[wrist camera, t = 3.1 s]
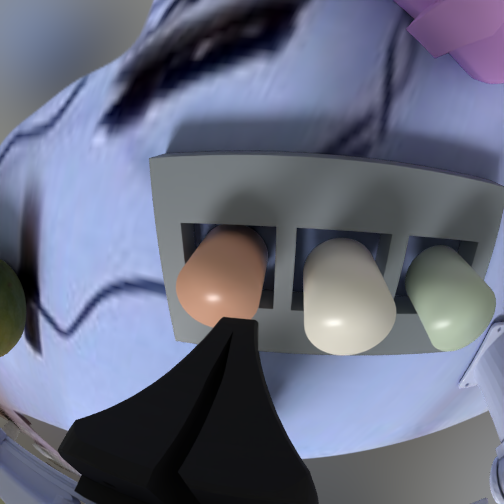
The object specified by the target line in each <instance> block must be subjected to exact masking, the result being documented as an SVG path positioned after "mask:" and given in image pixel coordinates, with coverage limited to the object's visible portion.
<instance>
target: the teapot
mask: <svg viewBox="0 0 504 504" xmlns="http://www.w3.org/2000/svg"><path fill="white" fill-rule="evenodd" d="M393 1H394V2H396V3H397V4H398V5H399V6H400V7H401V8H403V9H404V10H405V11H406V12H407V13H408V14H409V15H410V16H411V17H413V18H414V19H415V20H414V21H413V22H412V23H411V24H410V25H409V26H408V27H407V28H406V30H407V31H408V32H409V33H410V34H411V35H412V36H413V37H414V38H416V39H417V40H418V41H419V42H420V43H421V44H422V45H423V46H424V47H425V49H426V50H427V51H428V52H429V53H430V54H431V55H432V56H433V57H434V58H437V57H440V56H442V55H444V54H447V53H449V54H450V55H451V56H452V57H453V58H454V59H455V60H456V61H457V63H458V64H459V65H460V66H461V67H462V68H463V69H464V70H465V71H466V72H467V73H468V74H469V75H470V76H471V77H472V78H473V79H476V80H478V81H481V82H485V83H488V84H500V83H504V0H393Z"/></svg>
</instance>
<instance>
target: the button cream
mask: <svg viewBox="0 0 504 504" xmlns="http://www.w3.org/2000/svg"><path fill="white" fill-rule="evenodd" d="M303 289H304V328H305V332H306V335H307V337H308V339H309V340H310V342H311V343H312V344H313V345H314V346H316V347H317V348H318V349H320V350H322V351H324V352H326V353H330V354H334V355H353V354H358V353H361V352H364V351H367V350H369V349H371V348H373V347H374V346H376V345H377V344H379V343H380V342H381V341H382V340H383V339H384V338H385V337H386V336H387V335H388V334H389V332H390V331H391V329H392V327H393V325H394V323H395V319H396V306H395V302H394V300H393V298H392V295H391V293H390V291H389V289H388V287H387V285H386V283H385V281H384V278H383V276H382V274H381V272H380V270H379V268H378V266H377V264H376V262H375V260H374V258H373V256H372V254H371V253H370V251H369V250H368V249H367V248H366V246H364V245H363V244H362V243H360V242H358V241H356V240H354V239H350V238H334V239H330V240H327V241H325V242H323V243H321V244H319V245H318V246H317V247H315V248H314V249H313V250H312V251H311V253H310V254H309V255H308V257H307V259H306V261H305V264H304V268H303Z"/></svg>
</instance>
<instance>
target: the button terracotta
mask: <svg viewBox="0 0 504 504" xmlns="http://www.w3.org/2000/svg"><path fill="white" fill-rule="evenodd" d="M267 263H268V250H267V247H266V244H265V242H264V241H263V239H262V238H261V236H260V235H259V234H258V233H257V232H255V231H254V230H253V229H251V228H249V227H247V226H245V225H230V224H222V225H219V226H217V227H215V228H214V229H212V230H211V231H210V232H209V233H208V234H207V235H206V237H205V238H204V239H203V241H202V242H201V243H200V245H199V246H198V247H197V249H196V250H195V252H194V253H193V254H192V256H191V257H190V258H189V260H188V261H187V263H186V264H185V265H184V267H183V268H182V270H181V271H180V273H179V275H178V277H177V281H176V293H177V297H178V299H179V302H180V304H181V305H182V307H183V308H184V310H185V311H186V312H187V313H188V314H189V315H190V316H191V317H192V318H194V319H195V320H197V321H198V322H200V323H202V324H204V325H207V326H209V327H214V326H215V325H216V324H217V323H218V321H219V320H220V319H221V318H222V317H230V318H241V319H252V318H253V316H254V315H255V314H256V312H257V310H258V307H259V302H260V298H261V293H262V288H263V283H264V278H265V273H266V268H267Z"/></svg>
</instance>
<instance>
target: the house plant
mask: <svg viewBox="0 0 504 504" xmlns="http://www.w3.org/2000/svg"><path fill="white" fill-rule="evenodd" d="M2 430H3V431H4V432H5V433H6V435H7V436H9V437H10V438H11V439H12V440H14V441H16V439H17V436H18V434H19V431H20V429H19V428H18V427H17V426H16V425H15V424H14V423H13V422H11V421H9V422H8V423H7V424H6V425H5V426H4V427H3V428H2Z"/></svg>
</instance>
